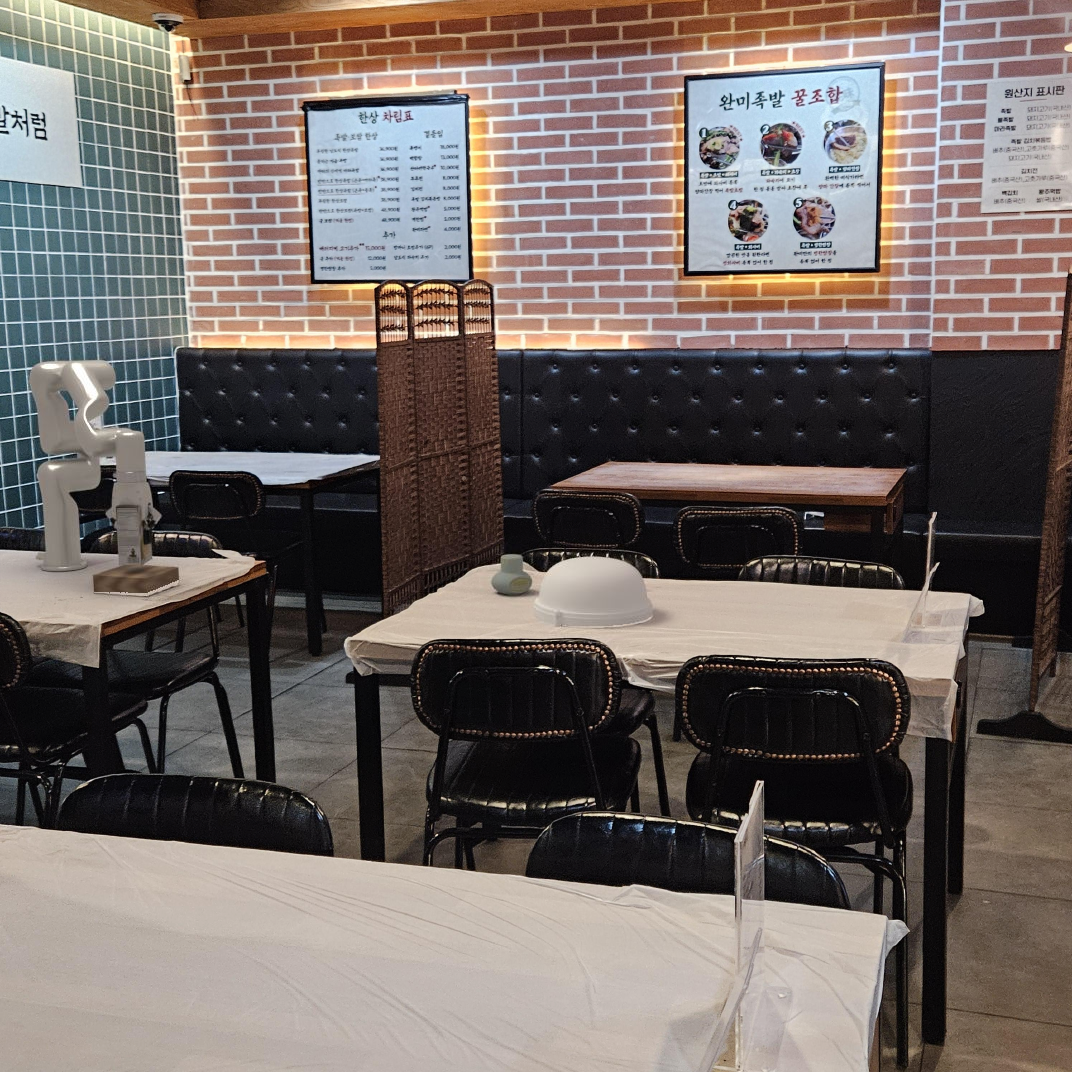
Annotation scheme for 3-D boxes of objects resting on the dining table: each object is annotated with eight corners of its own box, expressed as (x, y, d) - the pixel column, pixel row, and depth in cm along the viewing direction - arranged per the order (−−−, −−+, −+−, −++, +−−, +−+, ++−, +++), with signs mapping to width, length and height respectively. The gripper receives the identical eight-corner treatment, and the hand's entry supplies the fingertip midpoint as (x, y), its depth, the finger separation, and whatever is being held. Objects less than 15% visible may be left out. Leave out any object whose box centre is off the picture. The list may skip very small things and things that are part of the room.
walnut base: (93, 593, 351) (92, 574, 350) (128, 581, 366) (127, 563, 365) (146, 597, 347) (145, 578, 346) (179, 585, 362) (178, 567, 361)
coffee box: (129, 559, 360) (126, 500, 357) (152, 559, 359) (150, 500, 357) (118, 565, 351) (115, 505, 348) (142, 565, 350) (139, 505, 348)
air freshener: (502, 598, 347) (502, 560, 345) (486, 592, 354) (486, 555, 352) (537, 593, 353) (537, 556, 351) (520, 587, 360) (520, 551, 358)
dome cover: (579, 596, 350) (580, 544, 348) (677, 611, 333) (678, 556, 331) (506, 618, 325) (506, 562, 323) (607, 636, 308) (608, 577, 305)
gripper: (94, 478, 350) (98, 543, 353) (152, 480, 345) (155, 547, 348) (111, 474, 357) (114, 539, 360) (168, 477, 352) (171, 542, 355)
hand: (134, 542), depth 354 cm, fingers closed on coffee box, 7 cm apart
